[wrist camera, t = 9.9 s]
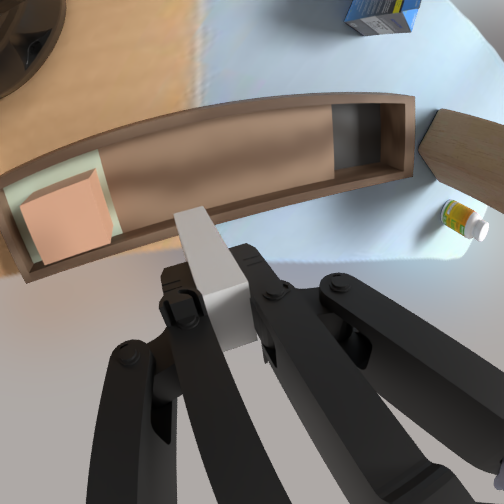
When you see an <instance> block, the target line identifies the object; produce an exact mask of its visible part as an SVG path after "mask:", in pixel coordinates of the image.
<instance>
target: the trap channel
mask: <svg viewBox="0 0 504 504" xmlns="http://www.w3.org/2000/svg"><path fill="white" fill-rule="evenodd" d="M414 149H415V96H408V95H401V94H393V93H377V92H331V93H308V94H294V95H282V96H271V97H262V98H254V99H246V100H239V101H233V102H226V103H220V104H214V105H209V106H203V107H198V108H193V109H188V110H184V111H179V112H175V113H170V114H166V115H162V116H158V117H154V118H150V119H146V120H142V121H139V122H135V123H132V124H128V125H125V126H121V127H118V128H115V129H112V130H109V131H105V132H102V133H99V134H96V135H93V136H91V137H88V138H85V139H82V140H79V141H77V142H74V143H71V144H69V145H66V146H63V147H61V148H58V149H56V150H54V151H51V152H49V153H46V154H44V155H42V156H39V157H37V158H35V159H33V160H30V161H28V162H26V163H24V164H22V165H20V166H18V167H15V168H13V169H11V170H9V171H7V172H5V173H4V174H2V175H0V231H1V233H2V235H3V238H4V240H5V242H6V244H7V247H8V249H9V251H10V253H11V255H12V257H13V259H14V261H15V263H16V265H17V267H18V269H19V271H20V273H21V275H22V277H23V279H24V281H25V282H26V284H27V283H30V282H32V281H36V280H38V279H41V278H44V277H47V276H50V275H53V274H56V273H59V272H62V271H65V270H68V269H71V268H74V267H77V266H80V265H83V264H86V263H89V262H93V261H96V260H99V259H102V258H105V257H108V256H111V255H115V254H118V253H121V252H124V251H127V250H131V249H134V248H137V247H141V246H144V245H147V244H150V243H154V242H157V241H161V240H164V239H167V238H171V237H174V236H178V235H179V234H178V230H177V227H176V223H175V219H174V215H173V214H175V213H178V212H182V211H185V210H189V209H193V208H196V207H200V206H203V207H204V208H205V210H206V212H207V213H208V215H209V217H210V219H211V220H212V222H213V224H214V225H216V224H220V223H224V222H227V221H231V220H235V219H238V218H242V217H246V216H250V215H253V214H257V213H261V212H265V211H269V210H273V209H276V208H280V207H284V206H288V205H292V204H296V203H300V202H304V201H308V200H312V199H316V198H321V197H325V196H329V195H333V194H337V193H341V192H346V191H350V190H354V189H359V188H363V187H368V186H372V185H376V184H381V183H385V182H390V181H395V180H399V179H404V178H409V177H413V168H414ZM94 168H96V171H97V174H98V178H99V181H100V185H101V188H102V191H103V195H104V198H105V201H106V204H107V207H108V210H109V213H110V216H111V219H112V222H113V231H112V237H111V243H110V244H107V245H104V246H100V247H97V248H94V249H91V250H88V251H85V252H82V253H79V254H76V255H73V256H70V257H67V258H65V259H62V260H59V261H56V262H53V263H50V264H47V265H44V263H43V261H42V259H41V256H40V254H39V252H38V250H37V248H36V246H35V243H34V241H33V239H32V236H31V234H30V232H29V229H28V227H27V224H26V222H25V219H24V217H23V214H22V212H21V209H20V205H21V204H22V203H23V202H24V201H25V200H26V199H27V198H28V197H29V196H30V195H31V194H32V193H33V192H35V191H37V190H39V189H42V188H44V187H47V186H49V185H52V184H54V183H57V182H59V181H62V180H64V179H67V178H69V177H72V176H75V175H78V174H80V173H83V172H86V171H89V170H92V169H94Z"/></svg>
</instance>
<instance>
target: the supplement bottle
mask: <svg viewBox="0 0 504 504" xmlns="http://www.w3.org/2000/svg"><path fill="white" fill-rule="evenodd" d="M441 221H442V223H443V224H445V225H446V226H448V227H449V228H451V229H453V230H454V231H456V232H458V233H459V234H461V235H463V236H464V237H466V238H468V239H471V238H473V237H474V239H476V240H478V241H479V242H481V241H482V240H484V238H485V236H486V234H487V232H488V229H489V224H488V223H487V222H486V221H485V220H481V217H480V215H479V213H477V212H475V211H474V210H472V209H470V208H468V207H466V206H464V205H462V204H460V203H459V202H457V201H455V200H449V201H447V202H446V204H445V205H444V207H443V209H442V212H441Z"/></svg>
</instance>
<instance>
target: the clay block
mask: <svg viewBox="0 0 504 504" xmlns="http://www.w3.org/2000/svg"><path fill="white" fill-rule="evenodd" d="M20 209H21V212H22V214H23V217H24V219H25V222H26V224H27V227H28V229H29V232H30V234H31V236H32V239H33V241H34V243H35V246H36V248H37V250H38V252H39V254H40V256H41V259H42V261H43V263H44V265H47V264H50V263H53V262H56V261H59V260H62V259H65V258H67V257H70V256H73V255H76V254H79V253H82V252H85V251H88V250H91V249H94V248H97V247H100V246H104V245H107V244H110V243H111V237H112V231H113V222H112V219H111V216H110V213H109V210H108V207H107V204H106V201H105V198H104V195H103V191H102V188H101V185H100V181H99V178H98V174H97V171H96V168H94V169H92V170H89V171H86V172H83V173H80V174H78V175H75V176H72V177H69V178H67V179H64V180H62V181H59V182H57V183H54V184H52V185H49V186H47V187H44V188H42V189H39V190H37V191H35V192H33V193H32V194H31V195H30V196H29V197H28V198H27V199H26V200H25V201H24V202H23V203H22V204H21V205H20Z"/></svg>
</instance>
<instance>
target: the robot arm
mask: <svg viewBox="0 0 504 504" xmlns="http://www.w3.org/2000/svg"><path fill="white" fill-rule="evenodd" d="M65 15H66V0H0V98H2V97H4V96H6V95H8V94H10V93H12V92H14V91H15V90H17V89H18V88H19V87H21V86H22V85H23V84H24V83H26V82H27V81H28V80H29V79H30V78H31V77H32V76H33V75H34V74H35V73H36V72H37V71H38V70H39V68H40V67H41V66H42V65H43V63H44V62H45V61H46V59H47V58H48V56H49V55H50V53H51V52H52V50H53V48H54V46H55V44H56V43H57V40H58V38H59V36H60V33H61V31H62V28H63V24H64V20H65ZM173 215H174V219H175V223H176V227H177V230H178V234H179V238H180V241H181V245H182V249H183V252H184V255H185V259H186V262H184V263H181V264H177V265H174V266H170V267H167V268H164V270H163V272H162V275H161V283H162V289H163V293H164V296H163V297H162V299H161V300H160V302H159V310H160V312H161V314H162V317H163V319H164V321H165V324H166V326H167V327H166V328H165V330H164V332H163V333H162V334H161V335H160V336H159V337H157V338H156V339H154V340H152V341H151V342H149V343H147V344H146V343H145V342H143V341H141V340H129V341H125V342H123V343H121V344H120V345H118V346H117V347H116V348H115V349H114V351H113V352H112V355H111V356H110V360H109V364H108V368H107V372H106V377H105V381H104V386H103V391H102V395H101V400H100V405H99V410H98V415H97V421H96V426H95V432H94V439H93V445H92V452H91V459H90V468H89V476H88V486H87V497H86V504H177V476H176V434H177V431H176V430H177V397H179V396H180V395H182V394H183V397H184V401H185V404H186V408H187V411H188V415H189V419H190V422H191V426H192V429H193V432H194V435H195V439H196V442H197V445H198V448H199V451H200V454H201V458H202V460H203V464H204V467H205V469H206V472H207V475H208V478H209V480H210V484H211V486H212V489H213V492H214V494H215V497H216V500H217V502H218V504H292V503H291V501H290V499H289V497H288V495H287V493H286V491H285V490H284V488H283V486H282V484H281V482H280V480H279V478H278V476H277V474H276V472H275V470H274V468H273V466H272V463H271V461H270V459H269V457H268V455H267V453H266V451H265V449H264V447H263V445H262V443H261V440H260V438H259V436H258V434H257V432H256V429H255V427H254V425H253V423H252V421H251V419H250V416H249V414H248V412H247V409H246V407H245V405H244V402H243V400H242V398H241V396H240V393H239V391H238V389H237V386H236V384H235V381H234V379H233V377H232V374H231V372H230V369H229V367H228V364H227V362H226V360H225V357H224V354H223V352H225V351H228V350H230V349H234V348H237V347H240V346H242V345H246V344H248V343H251V342H254V341H257V334H258V336H259V338H260V340H261V343H262V349H263V357H264V362H265V364H266V363H267V362H268V361H269V363H270V365H271V367H272V369H273V371H274V373H275V374H276V376H277V378H278V380H279V382H280V384H281V385H282V387H283V389H284V391H285V393H286V394H287V397H288V398H289V400H290V402H291V404H292V406H293V407H294V409H295V411H296V412H297V415H298V416H299V418H300V420H301V422H302V423H303V425H304V427H305V429H306V430H307V432H308V434H309V436H310V438H311V439H312V441H313V443H314V444H315V446H316V448H317V450H318V451H319V453H320V455H321V457H322V458H323V460H324V462H325V463H326V465H327V467H328V469H329V470H330V472H331V474H332V475H333V477H334V479H335V480H336V482H337V484H338V485H339V487H340V488H341V490H342V492H343V494H344V495H345V497H346V498H347V500H348V502H349V503H350V504H493V503H481V502H475V501H474V499H473V498H472V497H471V495H470V494H469V493H468V491H467V490H466V489H465V487H464V486H463V485H462V483H461V482H460V481H459V479H458V478H457V477H456V475H455V474H454V473H453V472H452V471H451V470H450V469H448V468H447V467H445V466H443V465H440V464H435V463H432V462H430V461H429V460H428V459H427V458H426V457H425V456H424V455H423V453H422V452H421V450H419V448H418V447H417V445H416V444H415V443H414V441H413V440H412V439H411V437H410V436H409V435H408V434H407V432H406V431H405V429H404V428H403V427H402V425H401V424H400V423H399V421H398V420H397V419H396V417H395V416H394V415H393V413H392V412H391V411H390V410H389V408H388V407H387V406H386V404H385V403H384V402H383V401H382V399H381V398H380V396H382V397H383V398H384V399H386V400H387V401H388V402H389V403H390V404H392V405H393V406H394V407H396V408H397V409H398V410H399V411H401V412H402V413H403V414H404V415H406V416H407V417H408V418H410V419H411V420H412V421H413V422H415V423H416V424H417V425H419V426H420V427H421V428H423V429H424V430H425V431H426V432H428V433H429V434H430V435H432V436H433V437H434V438H436V439H437V440H438V441H440V442H441V443H442V444H444V445H445V446H446V447H447V448H449V449H450V450H451V451H453V452H454V453H455V454H457V455H458V456H460V457H461V458H462V459H464V460H465V461H466V462H468V463H470V464H471V465H473V466H474V467H476V468H478V469H480V470H483V471H485V472H488V473H491V474H495V475H497V476H496V478H495V479H494V487H495V488H496V489H497V490H502V489H503V490H504V372H502V371H501V370H499V369H498V368H496V367H495V366H493V365H492V364H491V363H489V362H487V361H486V360H484V359H483V358H481V357H480V356H478V355H477V354H476V353H474V352H472V351H471V350H470V349H468V348H466V347H465V346H463V345H462V344H460V343H459V342H457V341H456V340H454V339H453V338H451V337H450V336H448V335H446V334H445V333H443V332H442V331H440V330H439V329H437V328H436V327H434V326H432V325H431V324H429V323H428V322H426V321H424V320H423V319H421V318H420V317H418V316H417V315H415V314H414V313H412V312H410V311H409V310H407V309H405V308H404V307H402V306H401V305H399V304H397V303H396V302H394V301H393V300H391V299H389V298H388V297H386V296H384V295H383V294H381V293H380V292H378V291H376V290H375V289H373V288H371V287H370V286H368V285H366V284H365V283H363V282H362V281H360V280H358V279H357V278H355V277H353V276H351V275H349V274H345V273H333V274H329V275H327V276H325V277H324V278H323V279H322V280H321V282H320V286H319V287H317V288H308V289H297V288H295V287H294V286H293V285H291V284H290V283H289V282H286V281H283V280H280V279H279V278H278V277H277V275H276V274H275V273H274V271H273V270H272V269H271V267H270V266H269V265H268V263H267V262H266V261H265V259H264V258H263V257H262V256H261V254H260V253H259V252H258V250H257V249H256V248H255V247H253V246H251V245H249V244H247V243H245V244H242V245H238V246H235V247H232V248H228V247H227V246H226V244H225V242H224V240H223V239H222V237H221V235H220V234H219V232H218V230H217V229H216V227H215V225H214V224H213V222H212V220H211V219H210V217H209V215H208V213H207V212H206V210H205V208H204V207H203V206H200V207H196V208H193V209H189V210H185V211H182V212H178V213H175V214H173ZM256 332H257V333H256ZM376 392H377V393H378V394H379V395H380V396H379V395H378V394H377V393H376Z"/></svg>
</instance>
